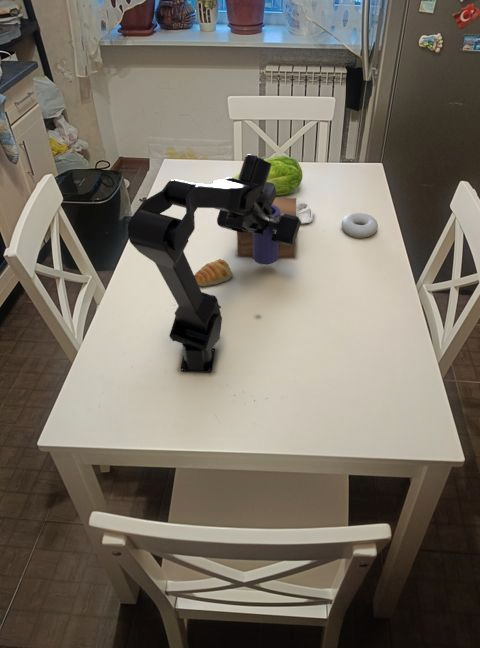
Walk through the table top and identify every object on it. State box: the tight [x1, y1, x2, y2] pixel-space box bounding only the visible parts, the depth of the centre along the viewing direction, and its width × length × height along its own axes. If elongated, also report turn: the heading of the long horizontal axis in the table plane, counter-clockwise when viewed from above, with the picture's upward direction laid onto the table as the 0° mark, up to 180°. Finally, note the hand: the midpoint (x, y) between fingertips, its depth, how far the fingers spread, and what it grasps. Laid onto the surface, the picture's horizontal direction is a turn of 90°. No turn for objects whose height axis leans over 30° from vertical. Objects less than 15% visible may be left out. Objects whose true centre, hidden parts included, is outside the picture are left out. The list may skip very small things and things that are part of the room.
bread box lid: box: [272, 197, 297, 216], centre depth 130 cm, size 15×15×4 cm
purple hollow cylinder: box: [252, 205, 280, 266], centre depth 121 cm, size 6×6×13 cm
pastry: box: [194, 258, 233, 288], centre depth 125 cm, size 9×7×4 cm
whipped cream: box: [296, 201, 314, 225], centre depth 146 cm, size 8×7×5 cm
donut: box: [341, 212, 379, 239], centre depth 142 cm, size 10×4×10 cm
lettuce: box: [231, 155, 303, 197], centre depth 155 cm, size 12×24×13 cm
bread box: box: [236, 231, 296, 259], centre depth 135 cm, size 14×15×9 cm
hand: (268, 231), depth 122 cm, fingers closed on purple hollow cylinder, 6 cm apart
